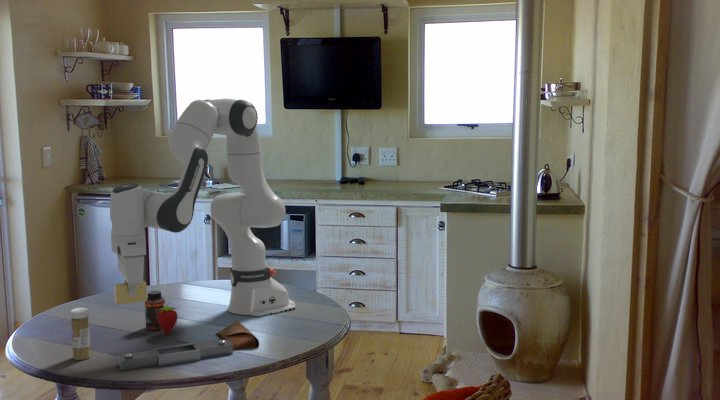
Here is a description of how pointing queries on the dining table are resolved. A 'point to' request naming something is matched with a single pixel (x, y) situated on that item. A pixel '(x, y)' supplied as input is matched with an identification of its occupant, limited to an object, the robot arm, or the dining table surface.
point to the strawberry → (167, 318)
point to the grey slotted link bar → (175, 354)
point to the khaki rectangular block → (124, 297)
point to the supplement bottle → (153, 309)
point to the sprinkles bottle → (80, 333)
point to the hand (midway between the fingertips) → (130, 293)
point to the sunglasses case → (238, 336)
